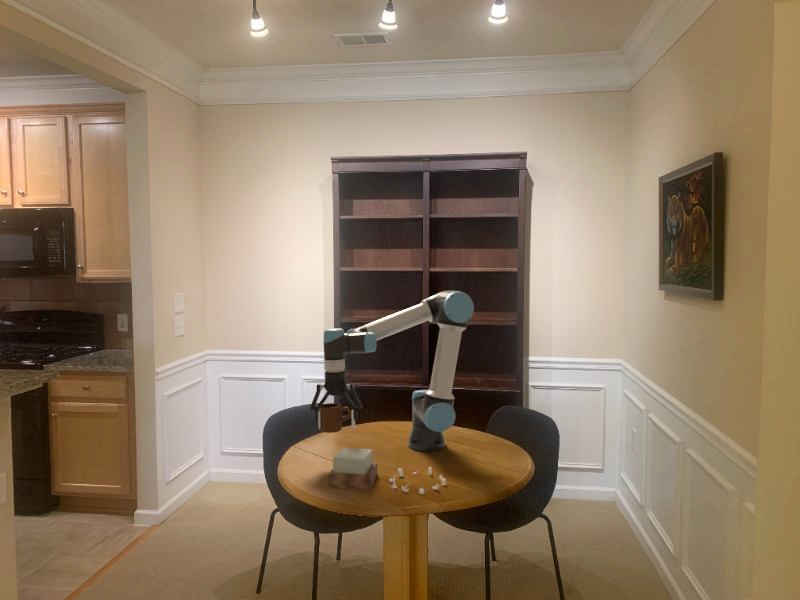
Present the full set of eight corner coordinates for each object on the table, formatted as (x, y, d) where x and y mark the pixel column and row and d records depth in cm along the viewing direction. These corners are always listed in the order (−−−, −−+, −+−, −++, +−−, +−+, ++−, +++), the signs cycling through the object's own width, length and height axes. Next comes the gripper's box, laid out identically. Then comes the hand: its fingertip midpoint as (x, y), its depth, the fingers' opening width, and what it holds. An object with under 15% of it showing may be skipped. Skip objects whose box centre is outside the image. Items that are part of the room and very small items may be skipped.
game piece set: (380, 479, 202) (379, 468, 202) (431, 470, 210) (431, 460, 210) (403, 499, 184) (402, 487, 184) (457, 489, 192) (457, 477, 192)
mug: (355, 428, 218) (355, 403, 217) (348, 434, 211) (347, 408, 210) (326, 427, 221) (325, 402, 221) (318, 432, 214) (317, 407, 214)
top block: (372, 463, 204) (372, 449, 203) (364, 474, 193) (364, 459, 193) (342, 461, 206) (342, 447, 206) (333, 472, 195) (332, 457, 195)
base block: (377, 475, 206) (377, 461, 206) (370, 490, 192) (370, 475, 192) (338, 474, 208) (338, 460, 207) (329, 489, 194) (329, 474, 193)
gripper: (300, 372, 212) (302, 430, 214) (365, 372, 210) (367, 430, 211) (306, 368, 220) (308, 425, 221) (368, 368, 217) (370, 425, 218)
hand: (337, 428), depth 216 cm, fingers closed on mug, 12 cm apart
